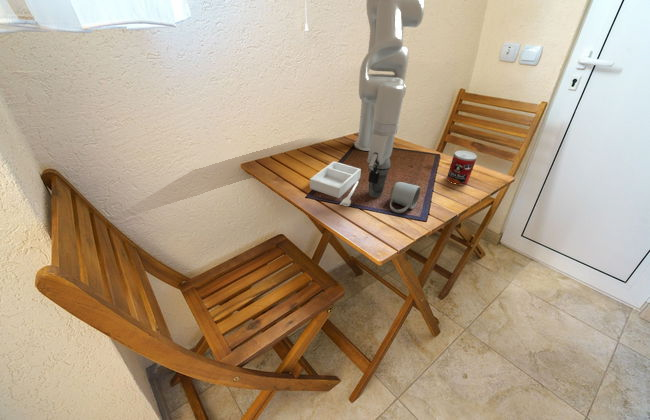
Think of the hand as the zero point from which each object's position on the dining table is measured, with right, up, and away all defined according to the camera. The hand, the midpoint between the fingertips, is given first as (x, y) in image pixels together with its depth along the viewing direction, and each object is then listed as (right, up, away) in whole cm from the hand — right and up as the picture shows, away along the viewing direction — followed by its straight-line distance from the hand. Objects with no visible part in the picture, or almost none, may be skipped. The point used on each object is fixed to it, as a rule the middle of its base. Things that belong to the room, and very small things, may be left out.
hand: (377, 177), depth 98 cm
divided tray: (-14, -1, +10) cm, 17 cm away
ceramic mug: (+8, -10, -1) cm, 13 cm away
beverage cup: (0, -6, +4) cm, 7 cm away
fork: (-9, -6, +4) cm, 11 cm away
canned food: (+33, 0, +14) cm, 36 cm away
